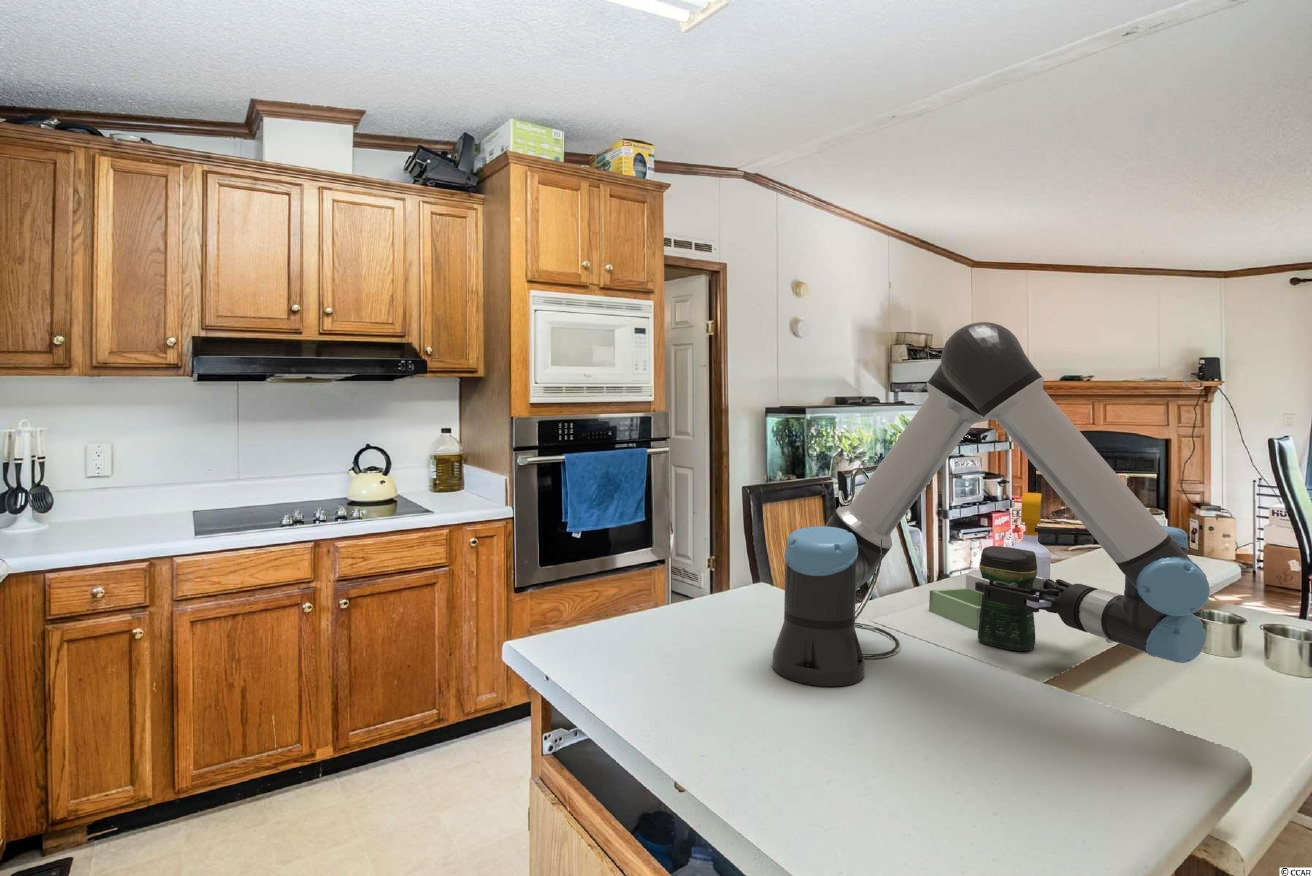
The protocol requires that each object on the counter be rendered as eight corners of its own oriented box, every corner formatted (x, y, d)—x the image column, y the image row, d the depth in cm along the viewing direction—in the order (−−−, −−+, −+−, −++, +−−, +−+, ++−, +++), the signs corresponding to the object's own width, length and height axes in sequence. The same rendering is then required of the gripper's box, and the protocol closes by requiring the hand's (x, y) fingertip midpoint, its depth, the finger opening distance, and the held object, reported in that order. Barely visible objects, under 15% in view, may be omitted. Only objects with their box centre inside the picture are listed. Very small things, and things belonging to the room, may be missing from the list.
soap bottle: (1049, 590, 173) (1053, 493, 172) (1048, 598, 165) (1052, 496, 164) (1009, 585, 177) (1013, 490, 176) (1006, 592, 170) (1010, 493, 169)
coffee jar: (1040, 646, 130) (1044, 548, 130) (1026, 655, 125) (1030, 554, 124) (986, 633, 137) (990, 541, 137) (971, 642, 132) (974, 546, 131)
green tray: (976, 629, 140) (977, 608, 139) (929, 610, 153) (929, 590, 153) (1030, 624, 144) (1031, 603, 144) (979, 606, 157) (980, 586, 157)
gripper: (1038, 639, 110) (941, 602, 131) (1144, 627, 117) (1036, 594, 138) (1040, 593, 110) (943, 563, 131) (1146, 584, 117) (1038, 557, 138)
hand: (991, 579), depth 135 cm, fingers open, 11 cm apart
